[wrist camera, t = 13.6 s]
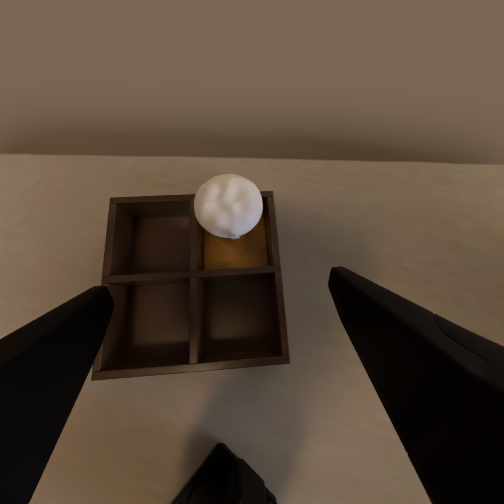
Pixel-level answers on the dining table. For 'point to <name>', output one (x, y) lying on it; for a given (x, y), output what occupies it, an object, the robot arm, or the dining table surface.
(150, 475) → the dining table surface
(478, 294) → the dining table surface
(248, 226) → the milkshake
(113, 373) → the organiser
